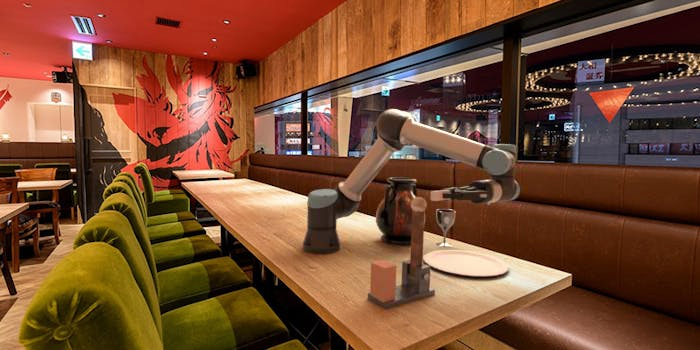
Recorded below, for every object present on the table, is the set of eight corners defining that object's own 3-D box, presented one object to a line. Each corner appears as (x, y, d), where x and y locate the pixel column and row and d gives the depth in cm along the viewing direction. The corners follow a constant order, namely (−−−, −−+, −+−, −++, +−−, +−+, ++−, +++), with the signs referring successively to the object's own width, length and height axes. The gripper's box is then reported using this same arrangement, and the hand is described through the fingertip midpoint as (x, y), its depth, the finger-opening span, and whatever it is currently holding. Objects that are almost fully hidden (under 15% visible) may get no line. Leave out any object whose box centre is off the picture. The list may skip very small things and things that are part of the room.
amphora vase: (398, 233, 173) (400, 175, 171) (434, 243, 157) (437, 179, 154) (365, 239, 160) (366, 177, 158) (400, 251, 143) (403, 181, 141)
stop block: (381, 291, 99) (382, 259, 98) (395, 299, 94) (396, 265, 94) (370, 294, 97) (371, 262, 96) (383, 302, 92) (384, 268, 91)
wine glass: (454, 248, 150) (456, 212, 149) (435, 246, 152) (436, 211, 150) (453, 243, 158) (454, 209, 157) (434, 241, 159) (436, 208, 158)
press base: (414, 285, 108) (415, 257, 108) (436, 295, 101) (437, 266, 100) (366, 297, 98) (367, 267, 98) (386, 310, 91) (388, 277, 90)
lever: (415, 272, 105) (419, 195, 103) (426, 277, 101) (430, 197, 100) (404, 274, 103) (407, 196, 101) (415, 279, 99) (418, 198, 97)
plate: (454, 249, 149) (454, 245, 149) (524, 269, 127) (524, 264, 126) (406, 262, 131) (406, 257, 131) (478, 287, 108) (478, 282, 108)
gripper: (501, 206, 111) (449, 212, 98) (466, 200, 122) (416, 205, 109) (502, 182, 110) (451, 185, 97) (467, 178, 121) (417, 180, 108)
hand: (432, 196), depth 103 cm, fingers closed
